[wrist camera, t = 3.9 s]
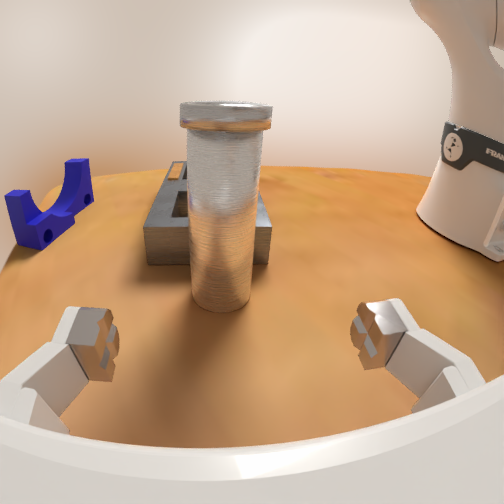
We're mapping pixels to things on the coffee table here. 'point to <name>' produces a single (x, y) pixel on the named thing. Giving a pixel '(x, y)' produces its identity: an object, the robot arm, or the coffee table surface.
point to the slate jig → (176, 223)
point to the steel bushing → (223, 197)
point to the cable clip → (58, 216)
